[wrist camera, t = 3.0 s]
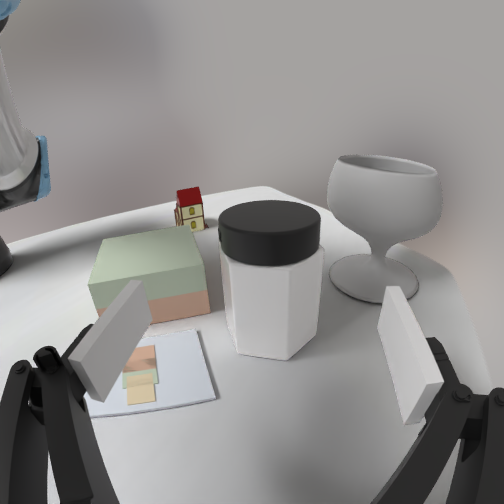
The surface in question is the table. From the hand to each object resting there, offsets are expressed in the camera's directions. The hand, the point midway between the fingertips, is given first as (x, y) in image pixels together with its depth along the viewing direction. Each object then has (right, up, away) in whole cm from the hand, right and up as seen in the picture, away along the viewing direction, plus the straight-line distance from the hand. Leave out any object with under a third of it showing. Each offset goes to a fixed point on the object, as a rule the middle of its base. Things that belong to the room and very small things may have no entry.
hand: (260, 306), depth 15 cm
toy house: (-14, +7, +41) cm, 44 cm away
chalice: (+15, -1, +21) cm, 26 cm away
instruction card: (-10, -8, +8) cm, 15 cm away
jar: (+1, -5, +14) cm, 15 cm away
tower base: (-13, -2, +20) cm, 24 cm away
